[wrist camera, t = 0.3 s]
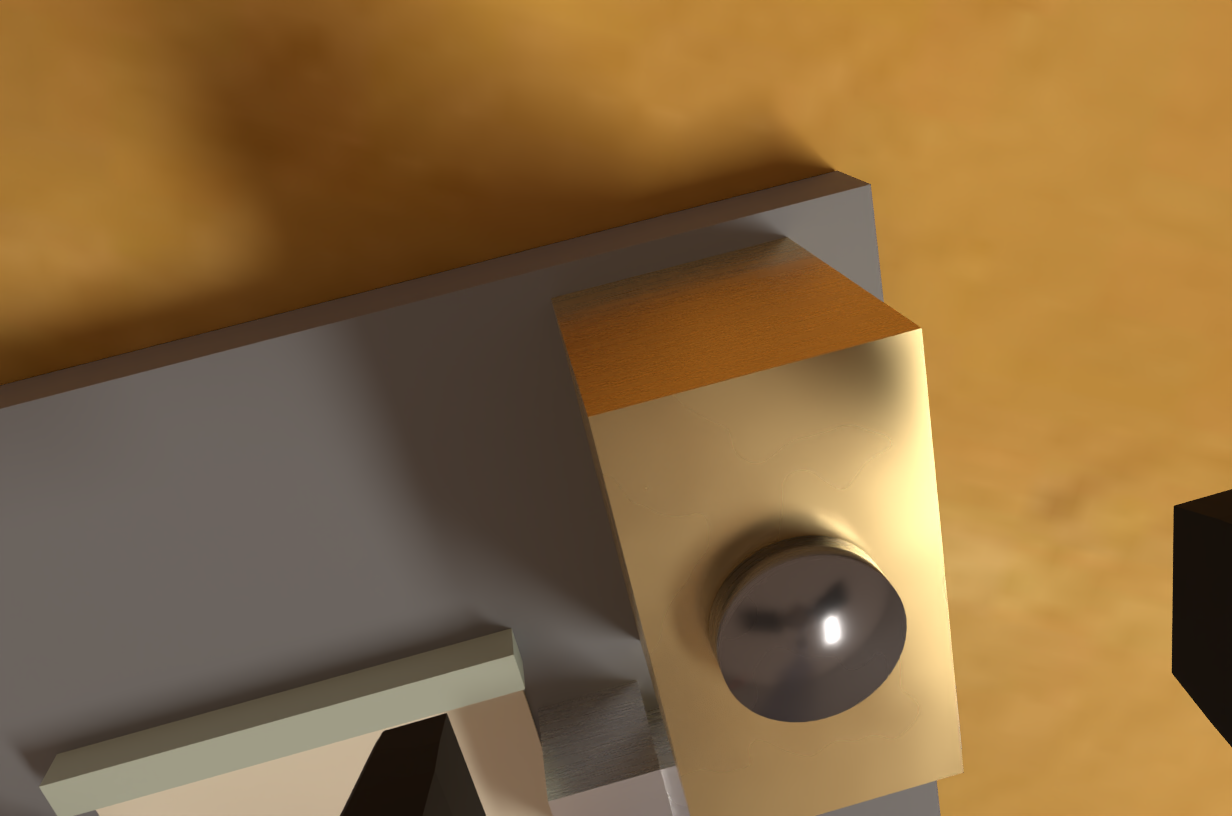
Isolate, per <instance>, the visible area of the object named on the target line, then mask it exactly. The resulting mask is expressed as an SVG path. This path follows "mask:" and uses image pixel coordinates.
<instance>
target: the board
mask: <svg viewBox="0 0 1232 816" xmlns="http://www.w3.org/2000/svg"><path fill="white" fill-rule="evenodd" d="M784 237H788V238H789V239H791V240H792V241H794V242H795V243H797V244H798V245H800V246H801V247H803V248H804V249H806V250H807V251H809V252H810V253H812V254H813V255H814V256H816V257H817V258H819V259H820V260H822V261H823V262H825V263H826V264H828V265H829V266H831V267H832V268H834V269H835V270H837V271H838V272H840V273H841V274H842V275H844V276H845V277H847V278H848V279H850V280H851V281H853V282H854V283H856V284H857V285H859V286H860V287H862V288H863V289H865V290H866V291H868V292H869V293H871V294H872V295H873V296H875V297H876V298H878V299H879V300H881V301H882V302H884V301H883V292H882V283H881V274H880V265H879V255H878V246H877V237H876V228H875V219H874V210H873V201H872V192H871V184H869V183H866V182H864V181H861V180H859V179H856V178H854V177H851V176H849V175H847V174H844V173H842V172H839V171H834V172H830V173H826V174H823V175H819V176H815V177H811V178H807V179H803V180H799V181H795V182H791V183H788V184H784V185H780V186H776V187H772V188H768V189H764V190H760V191H756V192H752V193H749V194H745V195H741V196H737V197H733V198H729V199H725V200H721V201H717V202H713V203H710V204H706V205H702V206H698V207H694V208H690V209H686V210H682V211H678V212H675V213H671V214H667V215H663V216H659V217H655V218H651V219H647V220H643V221H639V222H636V223H632V224H628V225H624V226H620V227H616V228H612V229H608V230H604V231H601V232H597V233H593V234H589V235H585V236H581V237H577V238H573V239H569V240H565V241H562V242H558V243H554V244H550V245H546V246H542V247H538V248H534V249H530V250H526V251H523V252H519V253H515V254H511V255H507V256H503V257H499V258H495V259H491V260H488V261H484V262H480V263H476V264H472V265H468V266H464V267H460V268H456V269H452V270H449V271H445V272H441V273H437V274H433V275H429V276H425V277H421V278H417V279H413V280H410V281H406V282H402V283H398V284H394V285H390V286H386V287H382V288H378V289H375V290H371V291H367V292H363V293H359V294H355V295H351V296H347V297H343V298H339V299H336V300H332V301H328V302H324V303H320V304H316V305H312V306H308V307H304V308H301V309H297V310H293V311H289V312H285V313H281V314H277V315H273V316H269V317H265V318H262V319H258V320H254V321H250V322H246V323H242V324H238V325H234V326H230V327H226V328H223V329H219V330H215V331H211V332H207V333H203V334H199V335H195V336H191V337H188V338H184V339H180V340H176V341H172V342H168V343H164V344H160V345H156V346H152V347H149V348H145V349H141V350H137V351H133V352H129V353H125V354H121V355H117V356H113V357H110V358H106V359H102V360H98V361H94V362H90V363H86V364H82V365H78V366H75V367H71V368H67V369H63V370H59V371H55V372H51V373H47V374H43V375H39V376H36V377H32V378H28V379H24V380H20V381H16V382H12V383H8V384H4V385H1V386H0V816H340V814H341V812H342V810H343V808H344V806H345V804H346V802H347V800H348V798H349V796H350V794H351V792H352V790H353V788H354V786H355V784H356V782H357V780H358V778H359V776H360V773H361V771H362V769H363V767H364V765H365V763H366V761H367V759H368V757H369V755H370V753H371V751H372V749H373V747H374V745H375V743H376V742H377V740H378V738H379V737H380V735H381V734H382V732H383V731H385V730H389V729H392V728H396V727H399V726H403V725H406V724H410V723H413V722H417V721H420V720H424V719H427V718H431V717H434V716H438V715H441V714H445V713H447V714H448V717H449V720H450V722H451V725H452V728H453V730H454V733H455V735H456V738H457V741H458V743H459V746H460V749H461V751H462V754H463V756H464V759H465V762H466V764H467V767H468V769H469V772H470V775H471V777H472V780H473V783H474V785H475V788H476V790H477V793H478V796H479V798H480V801H481V803H482V806H483V809H484V811H485V814H486V816H553V815H552V812H551V809H550V806H549V803H548V797H547V788H546V779H545V770H544V760H543V751H542V742H541V733H540V724H539V715H538V708H541V707H544V706H548V705H551V704H555V703H558V702H562V701H565V700H569V699H573V698H576V697H580V696H583V695H587V694H590V693H594V692H597V691H601V690H604V689H608V688H612V687H615V686H619V685H622V684H626V683H629V682H633V681H636V680H637V682H638V685H639V689H640V693H641V697H642V700H643V704H644V708H645V712H646V711H649V710H653V709H656V708H659V706H658V702H657V699H656V695H655V691H654V688H653V684H652V681H651V677H650V674H649V670H648V667H647V663H646V660H645V656H644V653H643V649H642V646H641V642H640V639H639V635H638V631H637V627H636V623H635V619H634V616H633V612H632V608H631V604H630V600H629V596H628V593H627V589H626V585H625V581H624V577H623V573H622V570H621V566H620V562H619V558H618V554H617V550H616V546H615V543H614V539H613V535H612V531H611V527H610V523H609V520H608V516H607V512H606V508H605V504H604V500H603V497H602V493H601V489H600V485H599V481H598V477H597V474H596V470H595V466H594V462H593V458H592V454H591V451H590V447H589V443H588V439H587V435H586V431H585V427H584V424H583V420H582V416H581V412H580V408H579V404H578V401H577V397H576V393H575V389H574V385H573V381H572V378H571V374H570V370H569V366H568V362H567V358H566V355H565V351H564V347H563V343H562V339H561V335H560V332H559V328H558V324H557V320H556V316H555V312H554V308H553V305H552V301H551V298H553V297H557V296H561V295H565V294H569V293H572V292H576V291H580V290H584V289H588V288H592V287H596V286H599V285H603V284H607V283H611V282H615V281H619V280H622V279H626V278H630V277H634V276H638V275H642V274H646V273H649V272H653V271H657V270H661V269H665V268H669V267H673V266H676V265H680V264H684V263H688V262H692V261H696V260H700V259H703V258H707V257H711V256H715V255H719V254H723V253H727V252H730V251H734V250H738V249H742V248H746V247H750V246H753V245H757V244H761V243H765V242H769V241H773V240H777V239H780V238H784ZM816 816H940V807H939V798H938V789H937V780H936V781H933V782H929V783H926V784H923V785H919V786H916V787H912V788H909V789H905V790H902V791H899V792H895V793H892V794H888V795H885V796H881V797H878V798H875V799H871V800H868V801H864V802H861V803H858V804H854V805H851V806H847V807H844V808H840V809H837V810H834V811H830V812H827V813H823V814H820V815H816Z"/></svg>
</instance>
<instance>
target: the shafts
mask: <svg viewBox="0 0 1232 816" xmlns="http://www.w3.org/2000/svg"><path fill="white" fill-rule="evenodd" d="M955 687H956V685H955ZM956 697H957V695H956ZM957 708H958V705H957ZM538 715H539V724H540V733H541V742H542V751H543V760H544V770H545V779H546V788H547V797H548V803H549V806H550V809H551V812H552V815H553V816H690V814H689V811H688V807H687V804H686V800H685V797H684V793H683V790H682V786H681V783H680V779H679V776H678V772H677V769H676V765H675V762H674V758H673V755H672V751H671V748H670V744H669V741H668V737H667V734H666V730H665V727H664V723H663V720H662V716H661V713H660V709H659V708H656V709H653V710H649V711H646V712H645V708H644V704H643V700H642V697H641V693H640V689H639V685H638V682H637V680H636V681H633V682H629V683H626V684H622V685H619V686H615V687H612V688H608V689H604V690H601V691H597V692H594V693H590V694H587V695H583V696H580V697H576V698H573V699H569V700H565V701H562V702H558V703H555V704H551V705H548V706H544V707H541V708H538ZM958 719H959V716H958ZM959 729H960V727H959ZM960 740H961V737H960ZM961 749H962V748H961Z"/></svg>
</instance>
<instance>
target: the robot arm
mask: <svg viewBox="0 0 1232 816" xmlns="http://www.w3.org/2000/svg"><path fill="white" fill-rule="evenodd" d="M1172 674H1173V675H1174V676H1175V677H1176V679H1177V680H1178V681H1179V682H1180V684H1181V685H1182V686H1183V688H1184V689H1185V690H1186V691H1187V693H1188V694H1189V695H1190V696H1191V698H1192V699H1193V700H1194V702H1195V703H1196V704H1197V705H1198V707H1199V708H1200V709H1201V710H1202V712H1203V713H1204V714H1205V716H1206V717H1207V718H1208V719H1209V721H1210V722H1211V723H1212V724H1213V725H1214V727H1215V728H1216V729H1217V730H1218V731H1219V733H1220V734H1221V735H1222V736H1223V737H1224V738H1225V740H1226V741H1227V742H1228V743H1229V744H1230V746H1231V747H1232V489H1231V490H1228V491H1224V492H1221V493H1217V494H1214V495H1210V496H1207V497H1203V498H1200V499H1196V500H1193V501H1189V502H1186V503H1182V504H1179V505H1175V506H1174V533H1173V618H1172ZM340 816H486V814H485V811H484V809H483V806H482V803H481V801H480V798H479V796H478V793H477V790H476V788H475V785H474V783H473V780H472V777H471V775H470V772H469V769H468V767H467V764H466V762H465V759H464V756H463V754H462V751H461V749H460V746H459V743H458V741H457V738H456V735H455V733H454V730H453V728H452V725H451V722H450V720H449V717H448V714H447V713H445V714H441V715H438V716H434V717H431V718H427V719H424V720H420V721H417V722H413V723H410V724H406V725H403V726H399V727H396V728H392V729H389V730H385V731H383V732H382V734H381V735H380V737H379V738H378V740H377V742H376V743H375V745H374V747H373V749H372V751H371V753H370V755H369V757H368V759H367V761H366V763H365V765H364V767H363V769H362V771H361V773H360V776H359V778H358V780H357V782H356V784H355V786H354V788H353V790H352V792H351V794H350V796H349V798H348V800H347V802H346V804H345V806H344V808H343V810H342V812H341V814H340Z"/></svg>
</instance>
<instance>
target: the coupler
mask: <svg viewBox="0 0 1232 816" xmlns="http://www.w3.org/2000/svg"><path fill="white" fill-rule="evenodd" d="M551 301H552V305H553V308H554V312H555V316H556V320H557V324H558V328H559V332H560V335H561V339H562V343H563V347H564V351H565V355H566V358H567V362H568V366H569V370H570V374H571V378H572V381H573V385H574V389H575V393H576V397H577V401H578V404H579V408H580V412H581V416H582V420H583V424H584V427H585V431H586V435H587V439H588V443H589V447H590V451H591V454H592V458H593V462H594V466H595V470H596V474H597V477H598V481H599V485H600V489H601V493H602V497H603V500H604V504H605V508H606V512H607V516H608V520H609V523H610V527H611V531H612V535H613V539H614V543H615V546H616V550H617V554H618V558H619V562H620V566H621V570H622V573H623V577H624V581H625V585H626V589H627V593H628V596H629V600H630V604H631V608H632V612H633V616H634V619H635V623H636V627H637V631H638V635H639V639H640V642H641V646H642V649H643V653H644V656H645V660H646V663H647V667H648V670H649V674H650V677H651V681H652V684H653V688H654V691H655V695H656V699H657V702H658V706H659V709H660V713H661V716H662V720H663V723H664V727H665V730H666V734H667V737H668V741H669V744H670V748H671V751H672V755H673V758H674V762H675V765H676V769H677V772H678V776H679V779H680V783H681V786H682V790H683V793H684V797H685V800H686V804H687V807H688V811H689V814H690V816H816V815H820V814H823V813H827V812H830V811H834V810H837V809H840V808H844V807H847V806H851V805H854V804H858V803H861V802H864V801H868V800H871V799H875V798H878V797H881V796H885V795H888V794H892V793H895V792H899V791H902V790H905V789H909V788H912V787H916V786H919V785H923V784H926V783H929V782H933V781H936V780H940V779H943V778H947V777H950V776H953V775H957V774H960V773H964V772H963V761H962V750H961V740H960V729H959V719H958V708H957V697H956V687H955V676H954V666H953V655H952V645H951V634H950V623H949V613H948V602H947V592H946V581H945V570H944V560H943V549H942V539H941V528H940V517H939V507H938V496H937V486H936V475H935V465H934V454H933V443H932V433H931V422H930V412H929V401H928V390H927V380H926V369H925V359H924V348H923V337H922V328H921V327H919V326H918V325H916V324H915V323H913V322H912V321H910V320H909V319H907V318H906V317H904V316H903V315H901V314H900V313H899V312H897V311H896V310H894V309H893V308H891V307H890V306H888V305H887V304H885V303H884V302H882V301H881V300H879V299H878V298H876V297H875V296H873V295H872V294H871V293H869V292H868V291H866V290H865V289H863V288H862V287H860V286H859V285H857V284H856V283H854V282H853V281H851V280H850V279H848V278H847V277H845V276H844V275H842V274H841V273H840V272H838V271H837V270H835V269H834V268H832V267H831V266H829V265H828V264H826V263H825V262H823V261H822V260H820V259H819V258H817V257H816V256H814V255H813V254H812V253H810V252H809V251H807V250H806V249H804V248H803V247H801V246H800V245H798V244H797V243H795V242H794V241H792V240H791V239H789V238H788V237H784V238H780V239H777V240H773V241H769V242H765V243H761V244H757V245H753V246H750V247H746V248H742V249H738V250H734V251H730V252H727V253H723V254H719V255H715V256H711V257H707V258H703V259H700V260H696V261H692V262H688V263H684V264H680V265H676V266H673V267H669V268H665V269H661V270H657V271H653V272H649V273H646V274H642V275H638V276H634V277H630V278H626V279H622V280H619V281H615V282H611V283H607V284H603V285H599V286H596V287H592V288H588V289H584V290H580V291H576V292H572V293H569V294H565V295H561V296H557V297H553V298H551Z"/></svg>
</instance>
